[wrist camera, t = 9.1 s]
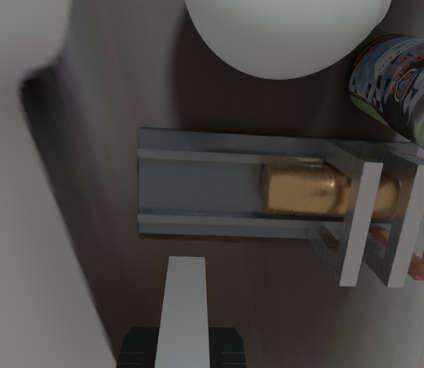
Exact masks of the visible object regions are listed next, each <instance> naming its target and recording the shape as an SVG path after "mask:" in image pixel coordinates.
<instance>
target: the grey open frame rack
mask: <svg viewBox="0 0 424 368" xmlns="http://www.w3.org/2000/svg"><path fill="white" fill-rule="evenodd" d="M324 139H325V140H339V141H341V142H343V143H345V144H347V145H349V146H351V147H353V148H355V149H357V150H359V151H361V152H362V153H363V151H364V146H365V142H379V143H382V144H384V145H387V146H389V147H392V148H394V149H397V150H402V151H405V152H407V153H410V154H412V155H415V156H416V154H417V150H418V145H416V144H415V143H412V142H398V141H380V140H362V139H345V138H327V137H309V136H292V135H274V134H256V133H238V132H221V131H203V130H185V129H168V128H150V127H140V129H139V148H138V158H139V212H138V222H139V233H157V234H186V235H215V236H243V237H272V238H300V239H307V238H308V232H309V228H313V227H317V228H327V229H328V230H329V231H330V233H331V234H332V235H333V236H334V237H335V239H336V240H340V237H341V232H342V227H343V222H344V217H338V216H316V215H294V214H272V213H264V212H263V210H262V206H261V195H260V191H261V178H262V172H263V168H264V166H265V164H266V163H267V162H273V163H291V164H309V165H327V166H333V165H331V164H330V163H328V162H327V161H326V160H324V159H325V158H323V157H322V156H321V154H322V148H323V142H324ZM392 221H393V220H390V219H382V218H371V221H370V225H369V229H368V232H369V233H370V231H375V230H387V231H388V232H389V233H390V229H391V225H392Z"/></svg>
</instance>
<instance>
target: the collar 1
mask: <svg viewBox="0 0 424 368" xmlns="http://www.w3.org/2000/svg"><path fill="white" fill-rule="evenodd" d="M321 156H322V157H323V158H325V159H324V160H326V161H327V162H328V163H330V164H331V165H333V166H334V167H335V168H337V169H338V170H340V171H341V172H343V173H344V174H345V175H347V176H348V177H350V178H351V179H352V182H351V187H350V192H349V197H348V202H347V207H346V212H345V217H344V222H343V227H342V232H341V237H340V242H338V241H337V240H336V239H335V237H334V236H333V235H332V234H331V233H330V231H329V230H328V229H327V228H317V227H313V228H309V232H308V238H307V239H308V240H309V242H310V243H311V245H312V246H313V248H314V249H315V251H316V252H317V254H318V255H319V257H320V258H321V260H322V261H323V263H324V264H325V266H326V267H327V269H328V270H329V272H330V273H331V275H332V276H333V278H334V279H335V281H336V282H337V284H338V285H339V286H355V287H356V283H357V279H358V274H359V270H360V265H361V261H362V256H363V252H364V247H365V243H366V238H367V234H368V229H369V225H370V221H371V216H372V212H373V207H374V203H375V198H376V194H377V189H378V185H379V180H380V176H381V171H382V167H383V163H382V162H380V161H378V160H376V159H374V158H372V157H370V156H368V155H366V154H364V153H362V152H361V151H359V150H357V149H355V148H353V147H351V146H349V145H347V144H345V143H343V142H341V141H339V140H325V139H324V142H323V148H322V154H321Z"/></svg>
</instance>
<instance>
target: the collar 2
mask: <svg viewBox="0 0 424 368" xmlns="http://www.w3.org/2000/svg"><path fill="white" fill-rule="evenodd" d="M363 153H364V154H366V155H368V156H370V157H372V158H374V159H376V160H378V161H380V162H382V163H383V167H382V171H384V172H386V173H387V174H389V175H391V176H393V177H395V178H397V179H398V180H400V181H402V184H401V189H400V193H399V197H398V201H397V205H396V209H395V213H394V217H393V221H392V225H391V229H390V233H389V237H388V241H387V246H386V248H385V247H384V246H383V245H382V244H381V243H380V242H379V241H378V240H377V239H375V238H374V237H373V236H372V235H371V234H370V233H369V232H368V234H367V238H366V243H365V247H364V252H363V256H362V259H363V261H364V262H365V263H366V264H367V265H368V266H369V267H370V269H371V270H372V271H373V272H374V273H375V274H376V275H377V276H378V278H379V279H380V280H381V281H382V282H383V283H384V284H385V286H386V287H395V288H403V287H404V283H405V280H406V276H407V272H408V269H409V265H410V261H411V258H412V254H413V250H414V247H415V243H416V239H417V236H418V232H419V228H420V225H421V221H422V217H423V214H424V160H421V159H419V158H416V157H414V156H411V155H409V154H406V153H404V152H401V151H399V150H397V149H394V148H392V147H389V146H387V145H384V144H382V143H379V142H365V146H364V151H363Z"/></svg>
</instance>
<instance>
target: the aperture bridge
mask: <svg viewBox="0 0 424 368" xmlns="http://www.w3.org/2000/svg"><path fill="white" fill-rule="evenodd" d="M399 151H401V152H404V153H406V154H409V155H411V156H414V157H416V158H419V159H421V160H424V159H422V158H420V157H417V156H415V155H412V154H410V153H407V152H405V151H402V150H399ZM370 234H371V235H372V236H373V237H374V238H375V239H377V240H378V241H379V242H380V243H381V244H382V245H383V246H384V247H385V248H386V246H387V241H388V237H389V232H388V231H387V230H375V231H370ZM407 273H408V274H409V275H410V276H411V277H412V278H413V279H414V280H420V281H424V252H423V255H422V259H420V258H419V257H418V256H417V255H416V254H414V253H413V254H412V258H411V261H410V265H409V269H408V272H407Z"/></svg>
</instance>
